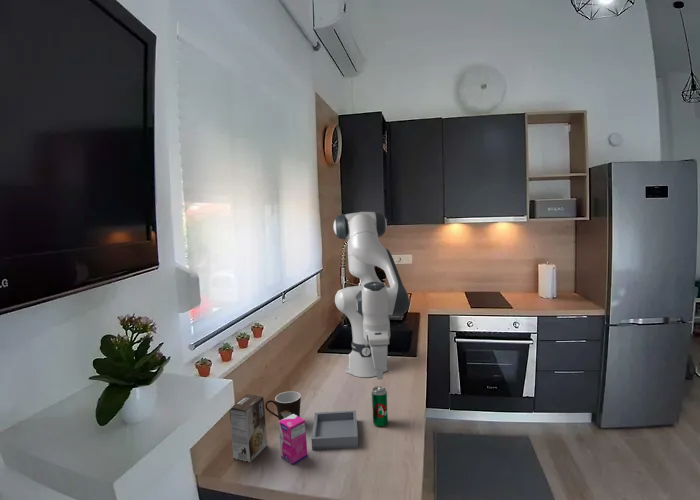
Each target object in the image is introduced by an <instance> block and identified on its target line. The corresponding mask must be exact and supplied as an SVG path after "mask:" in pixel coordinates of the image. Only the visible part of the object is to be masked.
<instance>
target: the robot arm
mask: <svg viewBox="0 0 700 500" xmlns="http://www.w3.org/2000/svg"><path fill="white" fill-rule="evenodd" d="M387 225H388V224H387V219H386V217H385V215H384V213H383V212H381V211H359V212H352V213H346V214H344V213H341V214H339V215H337V216H336V217H335V219H334V221H333V226H332V227H333V232H334V234H335V237H336V238H338V239H340V240H347V261H348V265H347V266H348V272H349V273H350V274H351V276H353V277H355V278H357V279H360V282H361V285H354V286H347V287H344V288H342V289H339V290H337V292H336V294H335V296H334V304H335V306H336V308H337V309H338V311H340V312H341V313H343V314H344V315H345V316H346V317H347V318H348V320H349V322H350V325H351V335H352V340H351V352H350V353H348V364H347V367H346V368H345V371H344V372H345V373H346V374H349V375H351V376H355V377H357V378H371V377H372V378H373V377H376V379H377V380H378V381H379V380H383V378H384V376H383V375H384V373H385V372H388V367H387V365H388V345H390V338H391V327H390V326H391V323H390V319H389V316H392V317H393V316H395V317H402V316H403V315H404V314H405V313H406V312H407V311H408V310H409V309H410V298H409V295H408V293H407V289H406V288H405V286H404V283H403V282H402V279H401V276H400V273H399V270H398V269H397V266H396V262H395V260H394V258H393V255H392V252H391V251H390V250H389V249H388V248H385V247H384V246H383V244H382V243H381V242H380V239H379V237H382V236H383V235H384V234H385V233H386V230H387ZM375 267H377V268H380V269H381V270H383V272H384V273H385V276H386V279H387V281H388V284H389V287H388V286H387V285H386V284H385V283H383V282H382V281H381V280H380V279H379V277H378V275H377V273H376V270H375Z"/></svg>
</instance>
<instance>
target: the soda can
mask: <svg viewBox="0 0 700 500" xmlns="http://www.w3.org/2000/svg"><path fill="white" fill-rule="evenodd" d="M371 405H372V407H371V409H372V411H371V412H372V423H373V425H374V426H376V427H380V428H382V427H385V426H387V425H388V423H389V416H388V415H389V411H388V409H389V408H388V391H387V390H386V388H385V387H384V386H375V387H373V388H372V391H371Z"/></svg>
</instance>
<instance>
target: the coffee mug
mask: <svg viewBox="0 0 700 500" xmlns="http://www.w3.org/2000/svg"><path fill="white" fill-rule="evenodd" d="M301 400H302V396H301V393H300V392H298V391H295V390H294V391H293V390H290V391H284V392H280V393H279V394H277V395H276V396H275V398H274V400H272V399H269V400H268V401H266V402H265V403H264V408H265V409H266V410H267V412H269V414H271V415H272V416H274V417H276V418H277V419H278V422H279V421H280V420H282V419H284V418H286V417H288V416H290V415H292V414H295V415H297V416H298V417H300V415H301ZM269 403H273V404H274V405H275V406H276V412H277V414H276V413H275V412H273V411H271V409H269V408H268V404H269ZM300 418H301V417H300Z"/></svg>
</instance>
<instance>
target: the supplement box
mask: <svg viewBox="0 0 700 500" xmlns="http://www.w3.org/2000/svg"><path fill="white" fill-rule="evenodd" d="M306 429H307V428H306V420H305V419H304V418H302V417H298V416H297V415H295V414H292V415H290V416H288V417H286V418H284V419H282V420H280V421H279V420H278V431H279V444H280V445H279V448H280V457H281V458H282V459H284V460H286V461H287V462H288V463H290V464H291V465H294V464H296V463H298V462H300V461H302V460H304V459H305V458H307V457H308V456H309V455H308V446H307V445H308V443H307V442H308V441H307V432H306Z"/></svg>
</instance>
